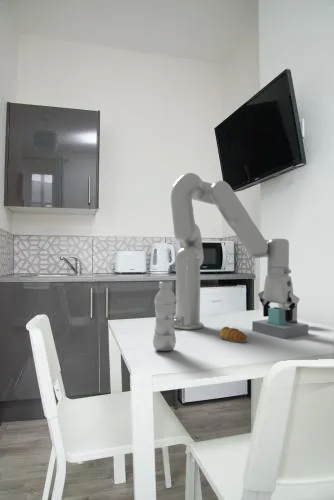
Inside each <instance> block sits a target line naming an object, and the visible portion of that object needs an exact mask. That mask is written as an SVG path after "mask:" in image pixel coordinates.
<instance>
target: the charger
mask: <svg viewBox="0 0 334 500" xmlns="http://www.w3.org/2000/svg"><path fill="white" fill-rule="evenodd" d="M285 310H286V309H284V308H278V306H274V307H270V308H268V316H267V318H268V323H269V324H274V325H278V326H280V325H286V320H285Z"/></svg>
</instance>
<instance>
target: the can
mask: <svg viewBox="0 0 334 500" xmlns="http://www.w3.org/2000/svg"><path fill="white" fill-rule="evenodd" d="M292 303H293V302H292ZM277 307H278V308H284V309H286V310H287V308H286V307H285V305H284V304H280V303H277ZM292 320H297V321H298V305H297V306H296V307H295V308H294V309H293V318H292Z"/></svg>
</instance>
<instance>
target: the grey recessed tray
mask: <svg viewBox="0 0 334 500" xmlns="http://www.w3.org/2000/svg"><path fill="white" fill-rule="evenodd" d="M251 324H252V328H251V330H252V332H257V333H259V334H264V335H267V336H271V337H276V338H279V339H284V340H286V339H290V338H291V339H292V338H296V337H301V336H305V335H306V336H307V335H309V324H306V323H303V322H298V319H297V320H292V321H286V325H280V326H278V325H274V324H269V323H268V319H260V320H253V321H252V323H251Z"/></svg>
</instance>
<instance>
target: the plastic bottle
mask: <svg viewBox="0 0 334 500" xmlns="http://www.w3.org/2000/svg"><path fill="white" fill-rule="evenodd" d="M158 288H159V290H158V292H157V293H156V294H155V297H154V301H153V302H154V311H155V326H154V334H153V339H152V344H153V348H154V349H155V350H156V351H160V352H169V351H173V350H174V349H175V347H176V344H177V339H176V334H175V327H174V318H175V314H176V303H177V299H176V293H174V292H173V282H172V281H167V280H165V281H164V280H163V281H159V282H158Z"/></svg>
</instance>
